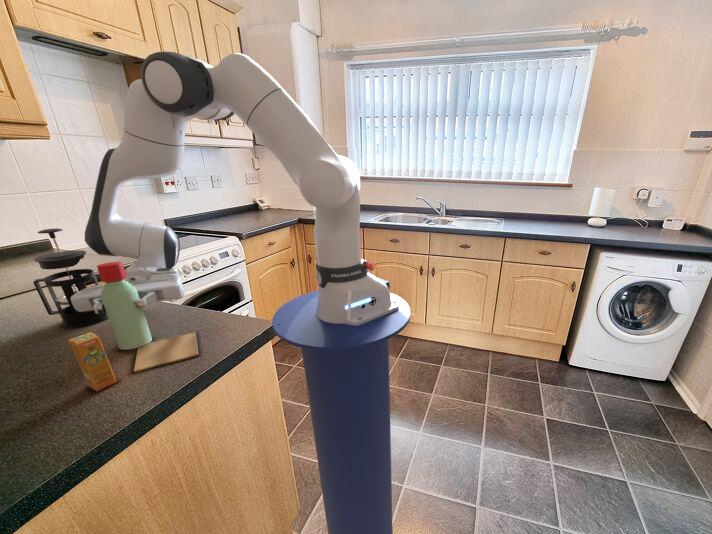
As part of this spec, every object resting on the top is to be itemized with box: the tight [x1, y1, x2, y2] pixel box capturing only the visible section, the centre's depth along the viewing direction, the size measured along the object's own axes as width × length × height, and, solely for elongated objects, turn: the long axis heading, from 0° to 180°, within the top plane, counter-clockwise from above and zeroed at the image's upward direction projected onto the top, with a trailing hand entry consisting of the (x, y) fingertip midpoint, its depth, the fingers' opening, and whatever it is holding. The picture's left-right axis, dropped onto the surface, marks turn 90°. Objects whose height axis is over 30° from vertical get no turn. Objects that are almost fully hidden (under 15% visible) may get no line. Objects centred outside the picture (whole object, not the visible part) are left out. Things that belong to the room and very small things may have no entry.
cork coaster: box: [133, 331, 200, 373], centre depth 72 cm, size 11×11×1 cm
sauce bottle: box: [100, 279, 153, 351], centre depth 72 cm, size 6×6×18 cm
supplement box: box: [67, 331, 117, 392], centre depth 60 cm, size 3×3×10 cm
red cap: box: [96, 261, 127, 283], centre depth 69 cm, size 4×4×3 cm
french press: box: [32, 227, 109, 329], centre depth 81 cm, size 12×9×23 cm
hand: (120, 307), depth 70 cm, fingers closed on sauce bottle, 6 cm apart
